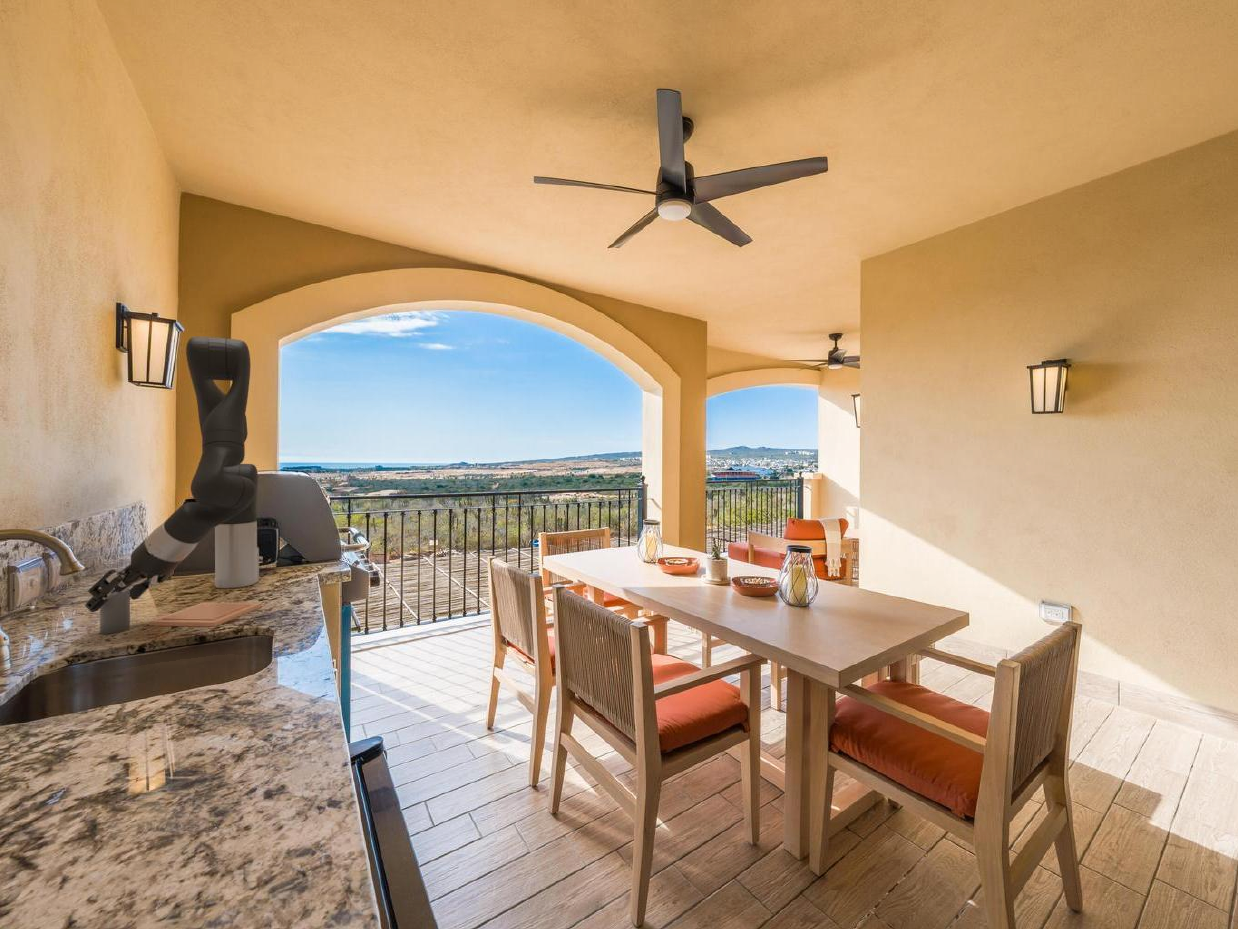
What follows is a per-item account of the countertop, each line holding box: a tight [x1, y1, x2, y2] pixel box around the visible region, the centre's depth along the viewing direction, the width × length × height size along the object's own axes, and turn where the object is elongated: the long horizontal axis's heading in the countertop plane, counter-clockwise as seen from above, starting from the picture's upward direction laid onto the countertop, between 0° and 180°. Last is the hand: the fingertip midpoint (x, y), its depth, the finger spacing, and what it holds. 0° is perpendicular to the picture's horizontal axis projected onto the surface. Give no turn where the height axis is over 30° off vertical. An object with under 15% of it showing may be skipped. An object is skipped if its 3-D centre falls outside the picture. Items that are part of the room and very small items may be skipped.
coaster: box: [147, 601, 263, 627], centre depth 115 cm, size 14×14×1 cm
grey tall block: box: [99, 581, 131, 635], centre depth 105 cm, size 4×4×11 cm
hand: (111, 602), depth 105 cm, fingers open, 8 cm apart
